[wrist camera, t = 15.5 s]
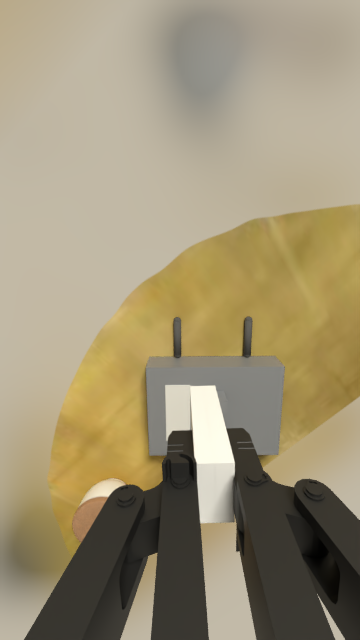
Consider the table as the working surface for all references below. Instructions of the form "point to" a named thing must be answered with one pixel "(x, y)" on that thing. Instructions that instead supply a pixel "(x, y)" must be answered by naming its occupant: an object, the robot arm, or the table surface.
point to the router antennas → (246, 337)
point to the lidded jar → (93, 505)
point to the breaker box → (233, 393)
